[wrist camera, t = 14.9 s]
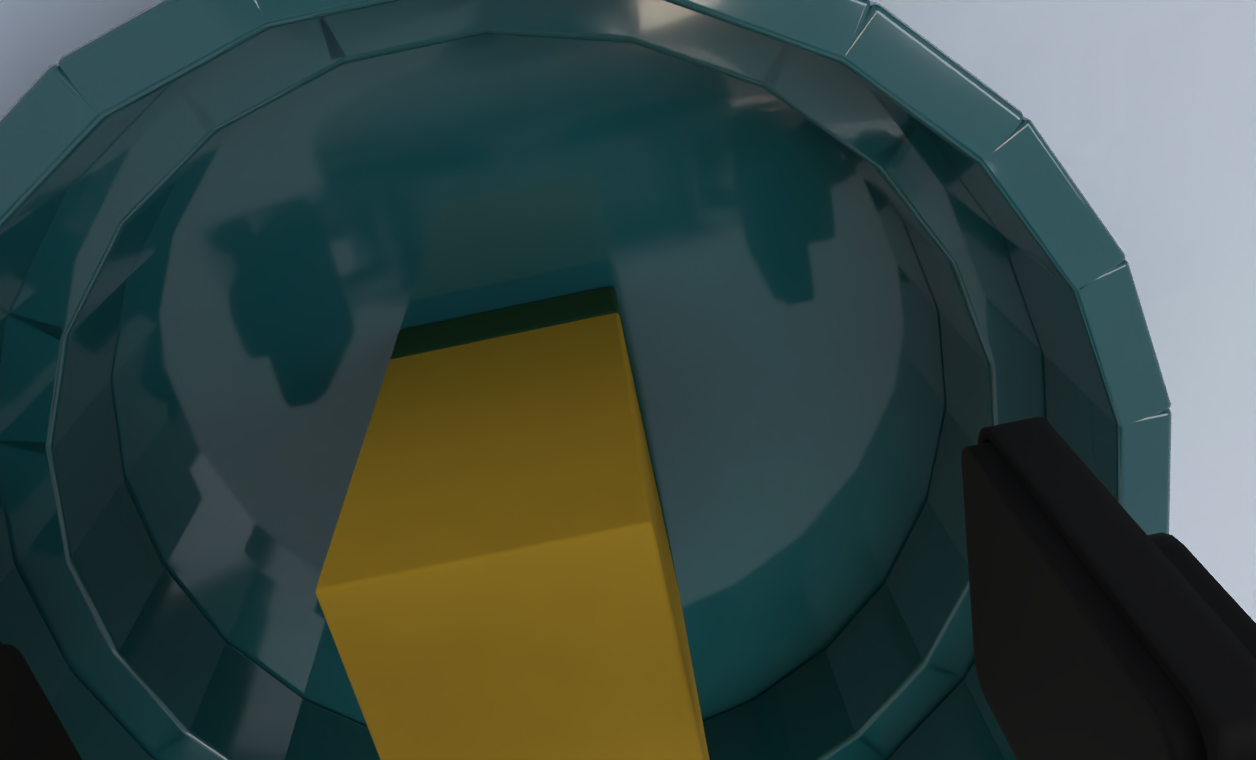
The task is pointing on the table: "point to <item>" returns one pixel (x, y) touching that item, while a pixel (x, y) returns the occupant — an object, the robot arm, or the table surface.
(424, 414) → the sponge
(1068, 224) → the basin
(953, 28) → the table surface
